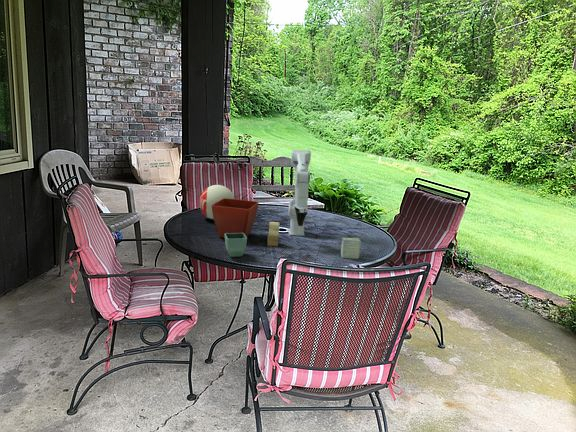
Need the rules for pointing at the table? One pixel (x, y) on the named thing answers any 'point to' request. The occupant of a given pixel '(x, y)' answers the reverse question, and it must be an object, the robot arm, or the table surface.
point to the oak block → (274, 229)
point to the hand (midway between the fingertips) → (299, 223)
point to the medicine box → (350, 248)
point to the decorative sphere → (213, 198)
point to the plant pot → (234, 216)
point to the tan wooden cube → (272, 240)
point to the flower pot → (235, 243)
